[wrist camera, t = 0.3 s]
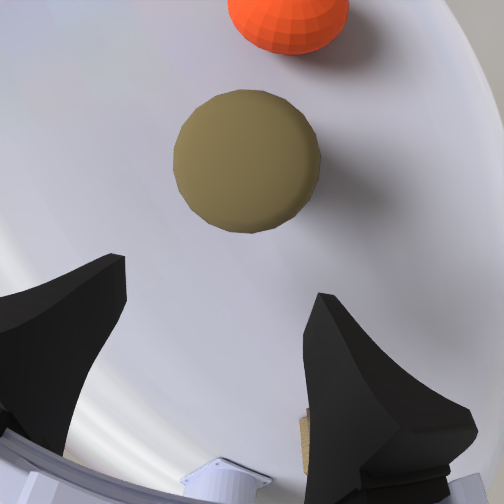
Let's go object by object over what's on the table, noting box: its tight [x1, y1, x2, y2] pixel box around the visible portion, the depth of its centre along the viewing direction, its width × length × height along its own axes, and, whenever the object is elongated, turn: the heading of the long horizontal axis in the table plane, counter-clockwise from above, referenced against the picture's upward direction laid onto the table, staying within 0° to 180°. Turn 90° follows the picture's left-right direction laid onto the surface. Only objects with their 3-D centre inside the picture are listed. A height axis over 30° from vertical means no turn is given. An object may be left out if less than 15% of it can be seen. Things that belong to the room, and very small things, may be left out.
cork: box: [173, 90, 321, 234], centre depth 14 cm, size 6×6×11 cm
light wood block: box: [299, 417, 310, 475], centre depth 23 cm, size 2×4×6 cm, turn 119°
